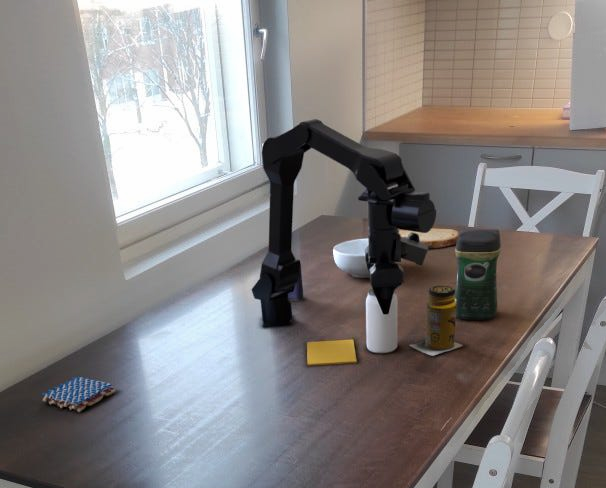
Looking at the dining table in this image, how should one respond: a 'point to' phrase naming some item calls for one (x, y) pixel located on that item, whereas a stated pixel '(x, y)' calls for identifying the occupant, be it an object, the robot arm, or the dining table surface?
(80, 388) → the woven mat
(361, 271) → the cereal bowl
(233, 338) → the dining table surface
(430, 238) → the slice of bread
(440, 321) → the condiment
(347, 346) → the cloth
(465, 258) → the coffee jar
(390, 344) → the can
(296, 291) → the flask
